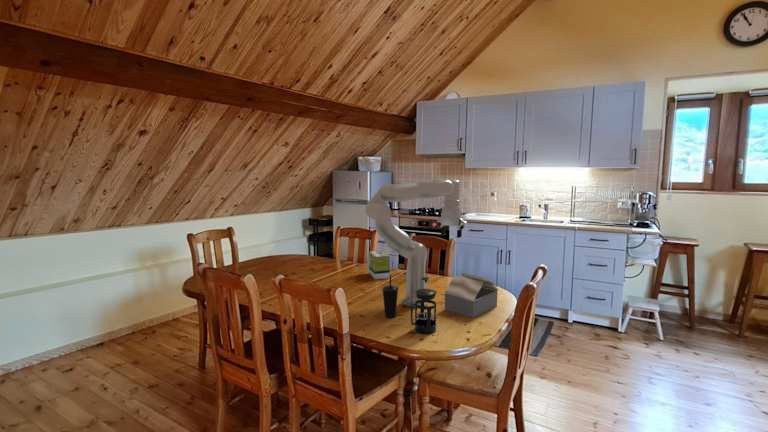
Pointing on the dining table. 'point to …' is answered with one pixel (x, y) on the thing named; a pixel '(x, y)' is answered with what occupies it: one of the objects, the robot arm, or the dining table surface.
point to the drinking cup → (390, 300)
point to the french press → (425, 318)
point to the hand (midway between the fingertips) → (451, 236)
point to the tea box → (379, 264)
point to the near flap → (464, 288)
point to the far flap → (486, 282)
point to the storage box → (472, 303)
